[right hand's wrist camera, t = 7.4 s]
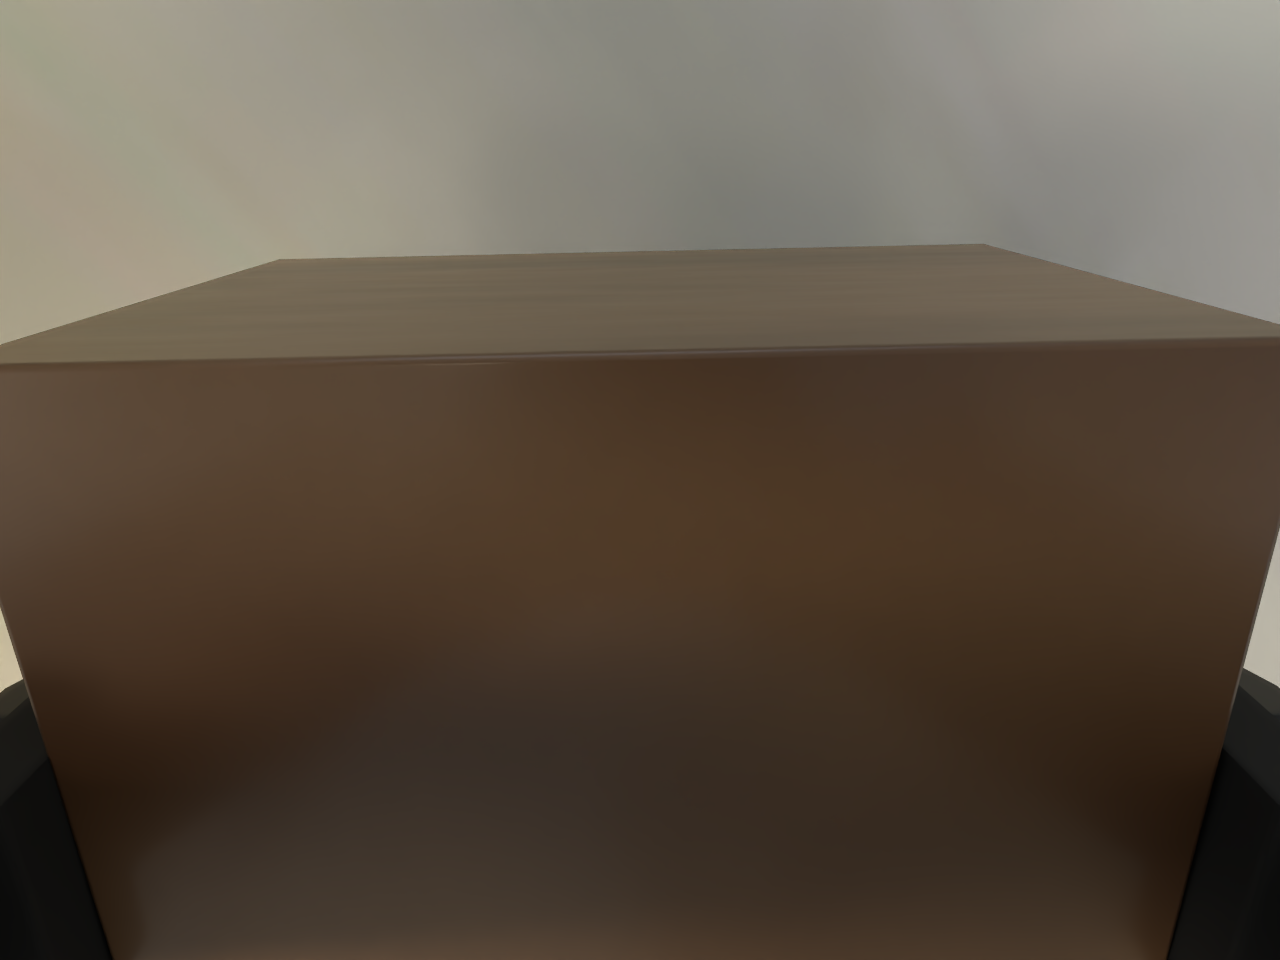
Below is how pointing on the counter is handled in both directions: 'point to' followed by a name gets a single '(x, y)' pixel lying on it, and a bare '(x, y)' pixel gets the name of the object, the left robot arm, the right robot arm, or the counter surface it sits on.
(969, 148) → the counter surface
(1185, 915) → the right robot arm
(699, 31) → the counter surface
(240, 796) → the wide beam
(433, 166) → the counter surface
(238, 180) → the counter surface
